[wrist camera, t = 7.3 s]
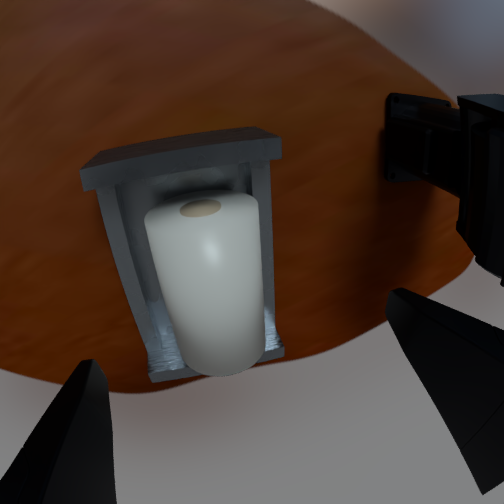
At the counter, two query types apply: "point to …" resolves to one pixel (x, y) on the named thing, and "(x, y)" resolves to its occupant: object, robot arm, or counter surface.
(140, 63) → the counter surface
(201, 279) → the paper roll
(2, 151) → the counter surface
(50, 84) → the counter surface
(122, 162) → the cradle holder
